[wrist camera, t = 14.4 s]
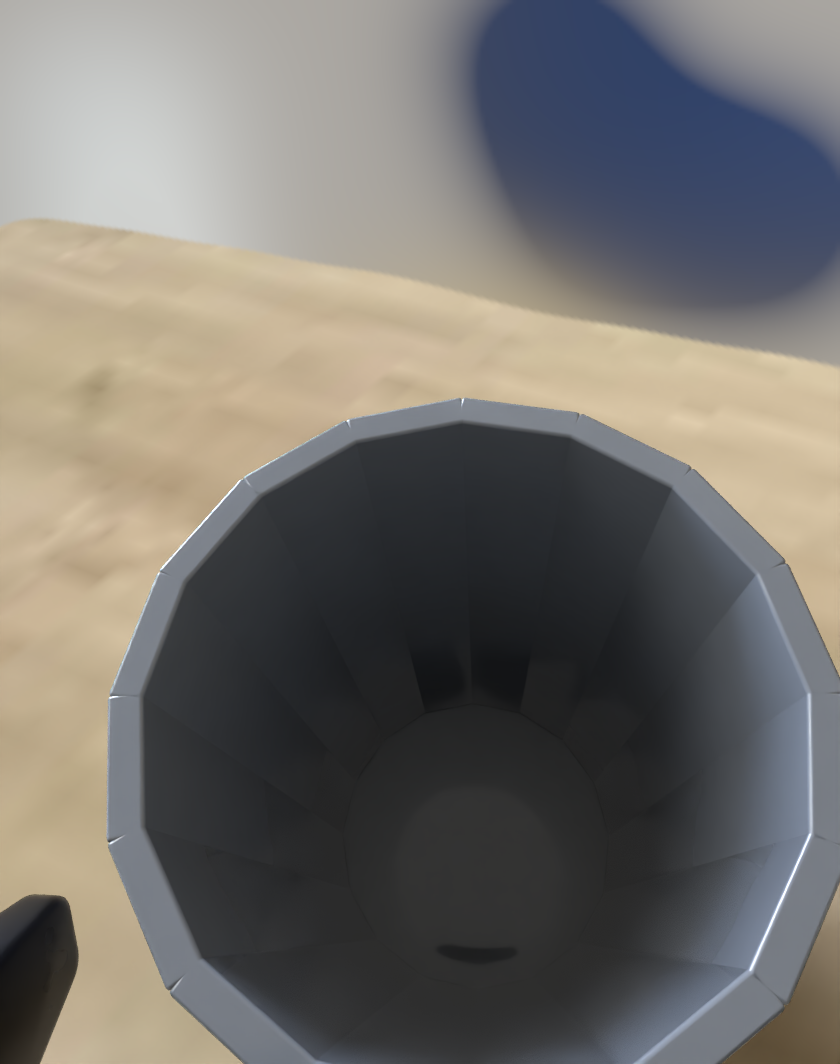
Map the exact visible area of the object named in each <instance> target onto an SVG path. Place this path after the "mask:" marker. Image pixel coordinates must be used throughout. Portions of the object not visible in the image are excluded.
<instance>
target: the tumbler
mask: <svg viewBox="0 0 840 1064" xmlns="http://www.w3.org/2000/svg"><path fill="white" fill-rule="evenodd" d="M110 696H111V697H110V698H109V699H108V762H107V841H108V842H110V843H109V844H108V848H109V851H110V853H111V856H112V858H113V861H114V863H115V865H116V868H117V870H118V873H119V875H120V878H121V880H122V882H123V885H124V887H125V890H126V892H127V895H128V897H129V900H130V902H131V904H132V907H133V909H134V912H135V914H136V917H137V919H138V922H139V924H140V926H141V929H142V931H143V934H144V936H145V939H146V941H147V944H148V946H149V948H150V951H151V953H152V956H153V958H154V961H155V963H156V965H157V968H158V970H159V973H160V975H161V978H162V980H163V983H164V985H165V987H166V989H167V990H168V991H169V990H171V991H170V994H171V996H172V998H173V999H175V1000H176V1001H177V1002H178V1003H179V1004H180V1005H181V1006H182V1007H183V1008H184V1009H185V1010H186V1011H187V1012H189V1013H190V1014H191V1015H192V1016H193V1017H194V1018H195V1019H196V1020H197V1021H198V1022H199V1023H200V1024H201V1025H202V1026H204V1027H205V1028H206V1029H207V1030H208V1031H209V1032H210V1033H211V1034H212V1035H213V1036H214V1037H215V1038H216V1039H218V1040H219V1041H220V1042H221V1043H222V1044H223V1045H224V1046H225V1047H226V1048H227V1049H228V1050H229V1051H230V1052H232V1053H233V1054H234V1055H235V1056H236V1057H237V1058H238V1059H239V1060H240V1061H241V1062H242V1063H243V1064H722V1063H724V1062H725V1061H726V1060H727V1059H728V1058H729V1057H731V1056H732V1055H733V1054H734V1053H735V1052H736V1051H738V1050H739V1049H740V1048H741V1047H742V1046H744V1045H745V1044H746V1043H747V1042H748V1041H749V1040H751V1039H752V1038H753V1037H754V1036H755V1035H756V1034H758V1033H759V1032H760V1031H761V1030H762V1029H764V1028H765V1027H766V1026H767V1025H768V1024H769V1023H771V1022H772V1021H773V1020H774V1019H775V1018H776V1017H778V1016H779V1015H780V1014H781V1013H782V1012H783V1011H784V1008H785V1007H784V1005H788V1004H789V1003H790V1001H791V998H792V996H793V994H794V991H795V989H796V986H797V984H798V982H799V979H800V977H801V974H802V972H803V970H804V967H805V965H806V962H807V960H808V958H809V955H810V953H811V950H812V948H813V946H814V943H815V941H816V938H817V936H818V934H819V931H820V929H821V927H822V924H823V922H824V919H825V917H826V915H827V912H828V910H829V907H830V905H831V903H832V900H833V898H834V895H835V893H836V891H837V888H838V886H839V883H840V677H839V675H838V673H837V670H836V668H835V666H834V664H833V662H832V659H831V657H830V655H829V653H828V651H827V648H826V646H825V644H824V642H823V640H822V637H821V635H820V633H819V631H818V629H817V626H816V624H815V622H814V620H813V617H812V615H811V613H810V611H809V609H808V606H807V604H806V602H805V600H804V598H803V595H802V593H801V591H800V589H799V587H798V584H797V582H796V580H795V578H794V576H793V573H792V571H791V569H790V567H789V565H788V564H785V560H784V558H783V557H782V556H781V555H780V554H779V553H778V552H777V551H776V550H775V549H774V548H773V547H772V546H771V545H770V544H769V543H768V542H767V541H766V540H765V539H764V538H763V537H762V536H761V535H760V534H759V533H758V532H757V531H756V530H755V529H754V528H753V527H752V526H751V525H750V524H749V523H748V522H747V521H746V520H745V519H744V518H743V517H742V516H741V515H740V514H739V513H738V512H737V511H736V510H735V509H734V508H733V507H732V506H731V505H730V504H729V503H728V502H727V501H726V500H725V499H724V498H723V497H722V496H721V495H720V494H719V493H718V492H717V491H716V490H715V489H714V488H713V487H712V486H711V485H710V484H709V483H708V482H707V481H706V480H705V479H704V478H703V477H702V476H701V475H700V474H699V473H698V472H697V471H696V470H694V469H692V470H691V467H690V466H689V465H687V464H685V463H683V462H681V461H679V460H677V459H675V458H673V457H670V456H668V455H666V454H664V453H662V452H660V451H658V450H656V449H654V448H652V447H650V446H648V445H646V444H644V443H642V442H640V441H637V440H635V439H633V438H631V437H629V436H627V435H625V434H623V433H621V432H619V431H617V430H615V429H613V428H611V427H609V426H607V425H604V424H602V423H600V422H598V421H596V420H594V419H592V418H590V417H588V416H586V415H584V414H581V415H579V413H577V412H570V411H562V410H554V409H546V408H539V407H531V406H523V405H516V404H508V403H500V402H493V401H485V400H477V399H469V398H463V399H462V400H461V398H457V399H451V400H446V401H441V402H436V403H430V404H425V405H420V406H415V407H409V408H404V409H399V410H394V411H389V412H383V413H378V414H373V415H368V416H362V417H357V418H352V419H349V420H348V421H347V422H346V421H343V422H341V423H339V424H337V425H336V426H334V427H332V428H330V429H328V430H327V431H325V432H323V433H321V434H319V435H318V436H316V437H314V438H312V439H311V440H309V441H307V442H305V443H303V444H302V445H300V446H298V447H296V448H294V449H293V450H291V451H289V452H287V453H286V454H284V455H282V456H280V457H278V458H277V459H275V460H273V461H271V462H269V463H268V464H266V465H264V466H262V467H260V468H259V469H257V470H255V471H253V472H252V473H250V474H248V475H246V476H245V477H244V478H243V480H240V481H239V482H238V483H237V484H236V485H235V486H234V487H233V488H232V489H231V490H230V492H229V493H228V494H227V495H226V496H225V497H224V498H223V499H222V501H221V502H220V503H219V504H218V505H217V506H216V507H215V508H214V510H213V511H212V512H211V513H210V514H209V515H208V516H207V517H206V518H205V520H204V521H203V522H202V523H201V524H200V525H199V526H198V527H197V529H196V530H195V531H194V532H193V533H192V534H191V535H190V536H189V537H188V539H187V540H186V541H185V542H184V543H183V544H182V545H181V546H180V548H179V549H178V550H177V551H176V552H175V553H174V554H173V555H172V556H171V558H170V559H169V560H168V561H167V562H166V563H165V564H164V565H163V567H162V568H161V569H160V573H158V574H157V576H156V578H155V581H154V583H153V586H152V588H151V591H150V593H149V596H148V598H147V601H146V603H145V606H144V608H143V611H142V613H141V616H140V618H139V621H138V623H137V626H136V628H135V631H134V633H133V636H132V638H131V641H130V643H129V646H128V648H127V651H126V653H125V656H124V658H123V661H122V663H121V666H120V668H119V670H118V673H117V675H116V678H115V680H114V683H113V685H112V688H111V690H110Z"/></svg>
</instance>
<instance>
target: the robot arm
mask: <svg viewBox="0 0 840 1064" xmlns="http://www.w3.org/2000/svg"><path fill="white" fill-rule="evenodd" d="M77 966H78V947H77V942H76V936H75V931H74V926H73V921H72V915H71V910H70V906H69V903H68V901H67V900H66V899H65V898H64V897H62V896H57V895H36V894H34V895H29V896H26V897H24V898H23V899H21V900H19V901H18V902H16V903H15V904H13V905H12V906H10V907H9V908H7V909H6V910H4V911H3V912H1V913H0V1064H40V1062H41V1060H42V1057H43V1055H44V1052H45V1050H46V1047H47V1045H48V1042H49V1040H50V1037H51V1035H52V1032H53V1030H54V1027H55V1025H56V1022H57V1020H58V1018H59V1015H60V1013H61V1010H62V1008H63V1005H64V1003H65V1000H66V998H67V995H68V993H69V990H70V988H71V985H72V983H73V980H74V977H75V975H76V971H77Z"/></svg>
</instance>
